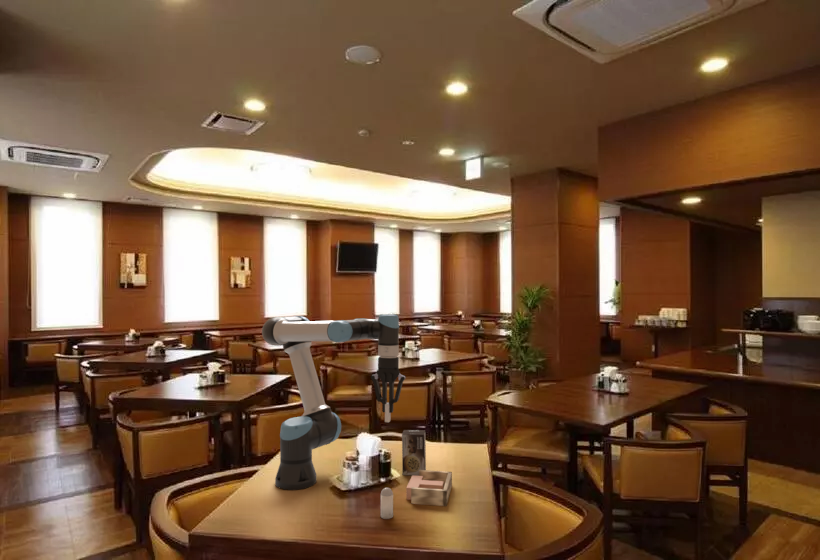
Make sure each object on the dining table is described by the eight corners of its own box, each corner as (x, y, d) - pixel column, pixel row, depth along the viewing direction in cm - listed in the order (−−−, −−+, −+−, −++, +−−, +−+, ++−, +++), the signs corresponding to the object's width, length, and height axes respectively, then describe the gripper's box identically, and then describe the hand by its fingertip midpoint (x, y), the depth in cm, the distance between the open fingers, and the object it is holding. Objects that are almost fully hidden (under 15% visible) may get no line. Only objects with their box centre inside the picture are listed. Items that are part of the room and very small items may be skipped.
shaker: (379, 518, 159) (379, 489, 159) (382, 512, 162) (382, 485, 163) (391, 519, 158) (391, 490, 158) (394, 513, 162) (394, 486, 162)
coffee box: (426, 470, 202) (426, 429, 202) (425, 476, 195) (424, 434, 196) (403, 469, 203) (403, 429, 203) (401, 475, 196) (401, 433, 197)
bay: (411, 503, 170) (411, 488, 170) (419, 483, 188) (419, 469, 188) (446, 506, 168) (446, 491, 168) (451, 485, 186) (451, 471, 186)
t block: (406, 499, 173) (406, 487, 173) (412, 486, 185) (412, 475, 185) (440, 501, 171) (440, 490, 171) (444, 488, 183) (444, 477, 183)
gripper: (368, 357, 181) (367, 422, 181) (403, 358, 179) (403, 425, 178) (373, 354, 189) (373, 417, 188) (407, 355, 186) (407, 419, 186)
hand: (387, 421), depth 183 cm, fingers closed
